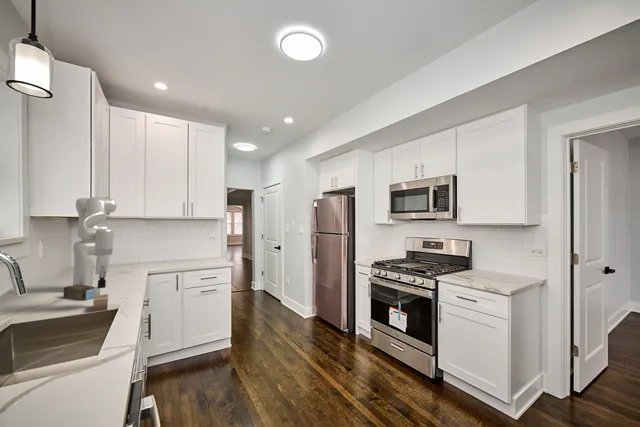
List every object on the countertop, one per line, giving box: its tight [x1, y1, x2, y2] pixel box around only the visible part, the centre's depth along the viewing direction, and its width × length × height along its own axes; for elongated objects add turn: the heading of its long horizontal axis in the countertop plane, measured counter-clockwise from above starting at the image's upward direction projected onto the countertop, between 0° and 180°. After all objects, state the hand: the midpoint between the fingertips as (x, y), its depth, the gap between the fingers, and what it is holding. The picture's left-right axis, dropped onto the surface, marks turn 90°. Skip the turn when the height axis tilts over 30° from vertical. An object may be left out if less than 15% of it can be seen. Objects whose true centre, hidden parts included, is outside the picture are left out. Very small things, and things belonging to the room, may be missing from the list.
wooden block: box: [92, 293, 109, 313], centre depth 142 cm, size 6×6×12 cm
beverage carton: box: [63, 284, 101, 301], centre depth 162 cm, size 8×19×7 cm, turn 72°
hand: (101, 287), depth 146 cm, fingers closed
